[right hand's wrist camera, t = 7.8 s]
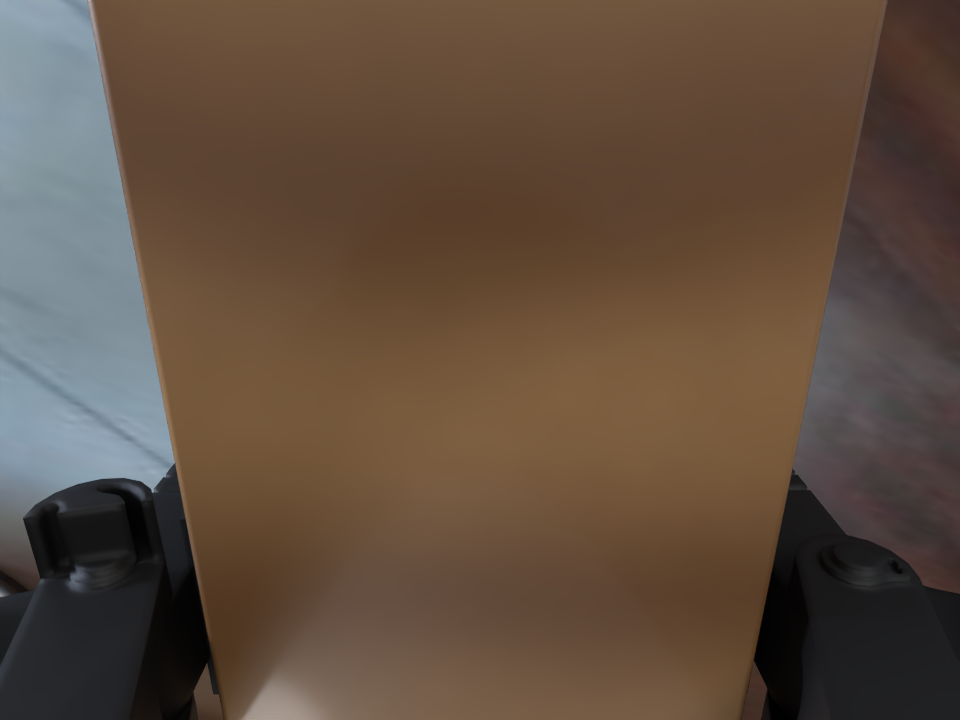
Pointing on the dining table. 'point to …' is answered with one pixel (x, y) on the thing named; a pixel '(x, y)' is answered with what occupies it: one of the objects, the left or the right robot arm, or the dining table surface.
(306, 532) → the bar
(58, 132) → the dining table surface
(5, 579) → the left robot arm
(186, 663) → the right robot arm
